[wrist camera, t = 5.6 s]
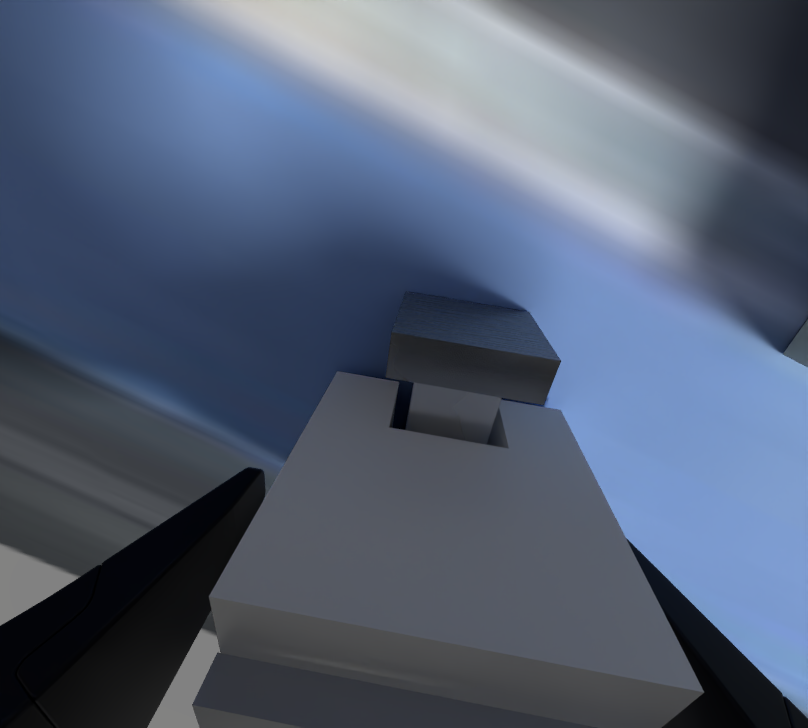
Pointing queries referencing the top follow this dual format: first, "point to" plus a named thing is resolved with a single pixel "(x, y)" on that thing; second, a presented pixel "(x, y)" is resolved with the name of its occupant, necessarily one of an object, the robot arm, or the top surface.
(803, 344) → the cabinet
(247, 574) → the carriage
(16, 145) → the top surface
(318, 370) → the top surface
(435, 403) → the rail
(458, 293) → the top surface
